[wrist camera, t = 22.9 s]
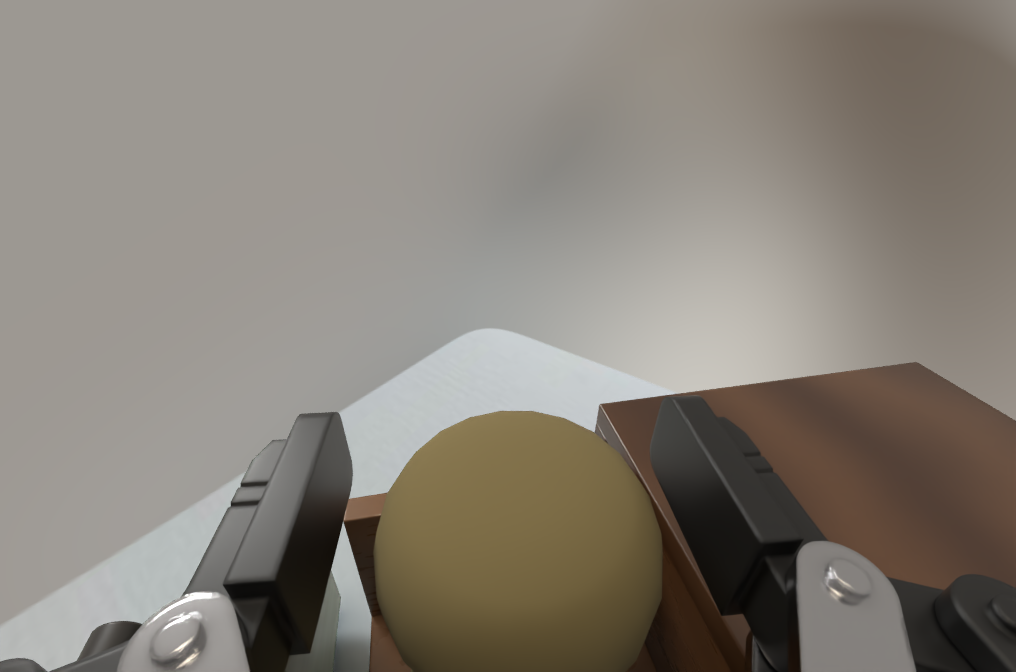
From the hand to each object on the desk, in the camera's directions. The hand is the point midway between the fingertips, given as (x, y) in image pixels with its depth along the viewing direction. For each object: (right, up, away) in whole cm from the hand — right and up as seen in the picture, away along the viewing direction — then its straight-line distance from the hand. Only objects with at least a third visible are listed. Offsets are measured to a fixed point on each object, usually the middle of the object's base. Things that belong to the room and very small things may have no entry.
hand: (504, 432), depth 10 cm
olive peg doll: (0, -10, +3) cm, 10 cm away
